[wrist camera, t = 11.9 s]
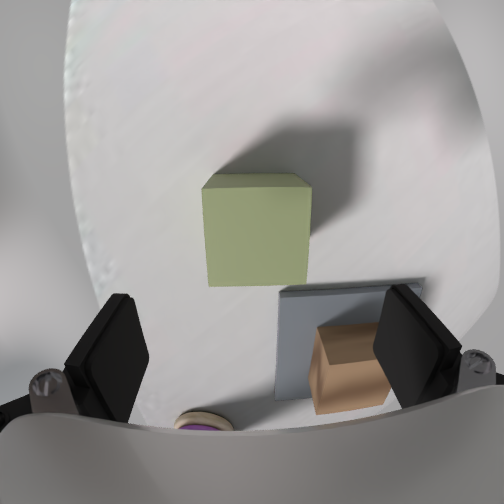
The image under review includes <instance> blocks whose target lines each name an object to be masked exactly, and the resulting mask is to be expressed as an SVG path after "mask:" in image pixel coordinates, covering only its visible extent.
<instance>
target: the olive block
mask: <svg viewBox="0 0 504 504" xmlns="http://www.w3.org/2000/svg"><path fill="white" fill-rule="evenodd" d="M311 201H312V187H311V186H310V185H308V184H307V183H306V182H305V181H303V180H302V179H301V178H300V177H298V176H297V175H296V174H295V173H243V174H213V175H212V176H211V178H210V179H209V180H208V181H207V183H206V184H205V185H204V186H203V188H202V205H203V221H204V235H205V248H206V261H207V272H208V283H209V287H222V286H270V285H300V284H306V281H307V268H308V254H309V239H310V222H311Z"/></svg>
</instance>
